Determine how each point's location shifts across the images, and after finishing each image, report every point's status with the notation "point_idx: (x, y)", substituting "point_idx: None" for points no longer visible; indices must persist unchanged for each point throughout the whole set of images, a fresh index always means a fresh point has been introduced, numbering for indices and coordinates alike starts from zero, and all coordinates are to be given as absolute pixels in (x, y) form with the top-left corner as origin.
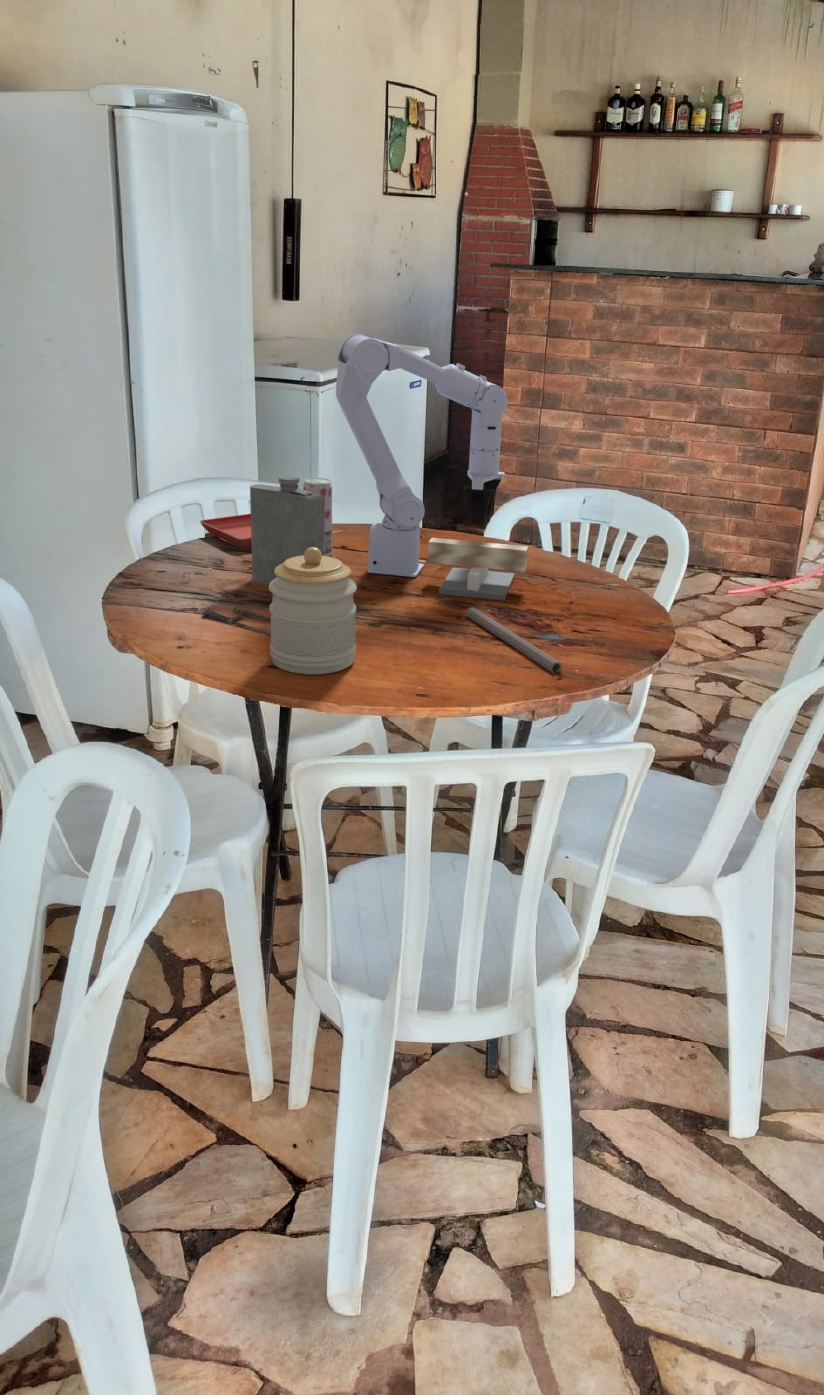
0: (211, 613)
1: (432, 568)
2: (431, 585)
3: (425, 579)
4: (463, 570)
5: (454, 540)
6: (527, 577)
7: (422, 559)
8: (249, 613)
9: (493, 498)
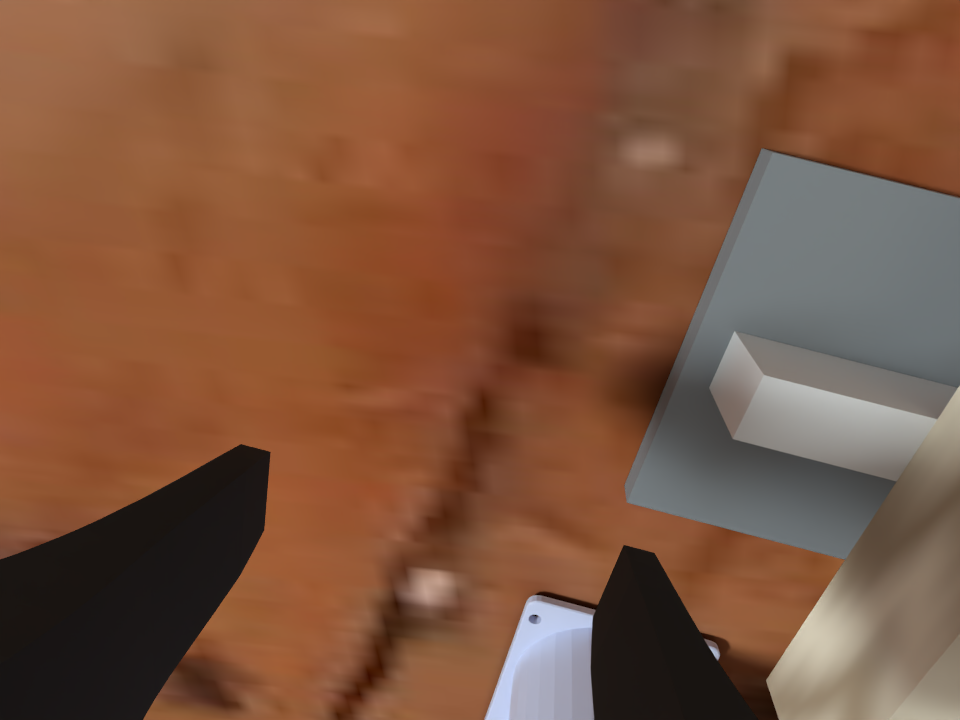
0: None
1: (551, 558)
2: None
3: (738, 604)
4: (686, 458)
5: (915, 718)
6: (738, 42)
7: (405, 579)
8: None
9: (106, 523)
